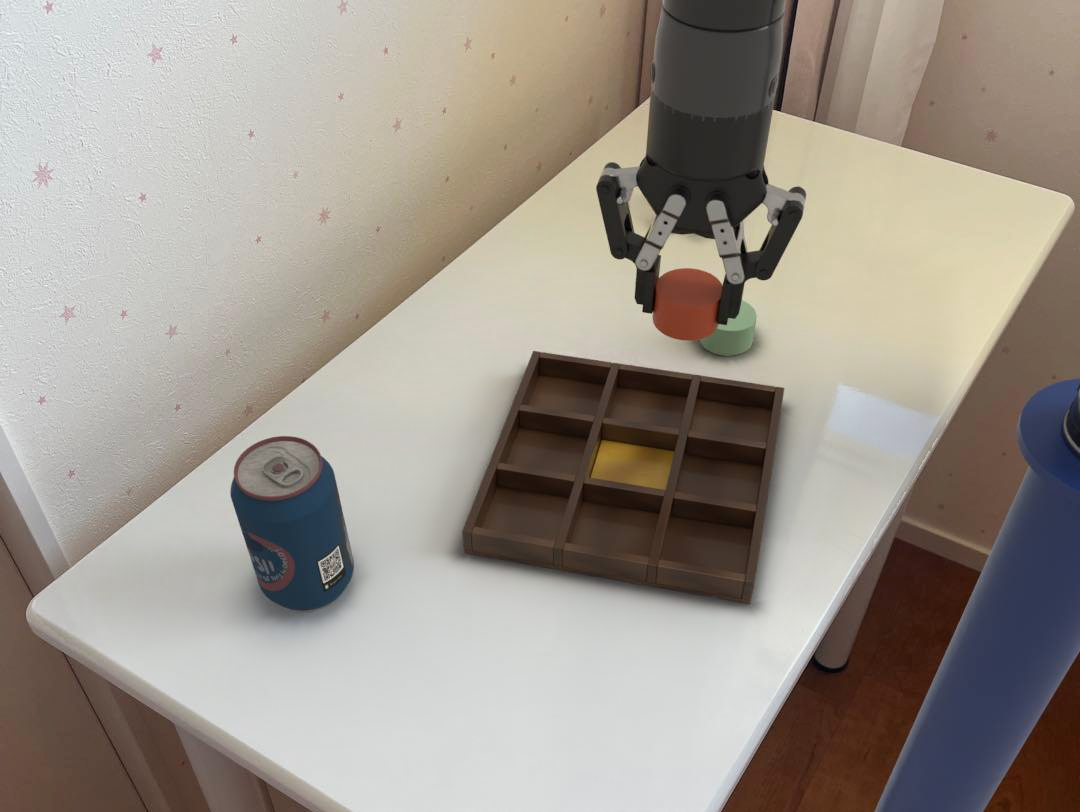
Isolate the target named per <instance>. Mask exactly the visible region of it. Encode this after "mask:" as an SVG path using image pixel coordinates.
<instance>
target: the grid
mask: <svg viewBox="0 0 1080 812" xmlns="http://www.w3.org/2000/svg"><path fill="white" fill-rule="evenodd" d="M784 394H785V388H784V387H781V386H775V385H769V384H763V383H762V384H761V383H754V382H748V381H742V380H734V379H727V378H721V377H720V378H719V377H713V376H708V375H707V376H706V375H700V374H694V373H686V372H679V371H674V370H665V369H659V368H652V367H647V366H646V367H645V366H640V365H632V364H625V363H619V362H612V361H605V360H598V359H591V358H585V357H577V356H571V355H564V354H557V353H550V352H545V351H543V352H542V351H538V350H533V351H532V353H531V356H530V358H529V360H528V364H527V365H526V368H525V371H524V374H523V376H522V378H521V381H520V383H519V386H518V388H517V391H516V393H515V396H514V399H513V401H512V403H511V406H510V409H509V412H508V414H507V416H506V418H505V421H504V424H503V427H502V429H501V432H500V434H499V437H498V439H497V442H496V444H495V446H494V449H493V452H492V454H491V457H490V460H489V462H488V465H487V467H486V470H485V473H484V475H483V478H482V480H481V482H480V485H479V487H478V490H477V492H476V495H475V499H474V501H473V502H472V505H471V508H470V511H469V513H468V516H467V518H466V521H465V523H464V526H463V529H462V530H461V531H462V532H461V533H462V534H461V535H462V544H463V553H465V554H469V555H476V556H480V557H481V556H482V557H486V558H492V559H498V560H503V561H509V562H513V563H520V564H526V565H531V566H537V567H543V568H548V569H554V570H558V571H565V572H570V573H574V574H575V573H576V574H581V575H586V576H592V577H597V578H603V579H609V580H615V581H620V582H625V583H631V584H637V585H642V586H649V587H654V588H657V589H658V588H659V589H665V590H670V591H676V592H681V593H686V594H691V595H697V596H702V597H703V596H704V597H709V598H713V599H714V598H715V599H719V600H724V601H730V602H736V603H743V604H747V605H751V603H752V597H753V593H754V589H755V583H756V577H757V570H758V563H759V557H760V550H761V546H762V545H761V544H762V537H763V532H764V526H765V518H766V512H767V505H768V499H769V494H770V493H769V491H770V487H771V479H772V472H773V465H774V458H775V452H776V446H777V440H778V435H779V433H778V432H779V426H780V421H781V414H782V407H783V401H784Z"/></svg>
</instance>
